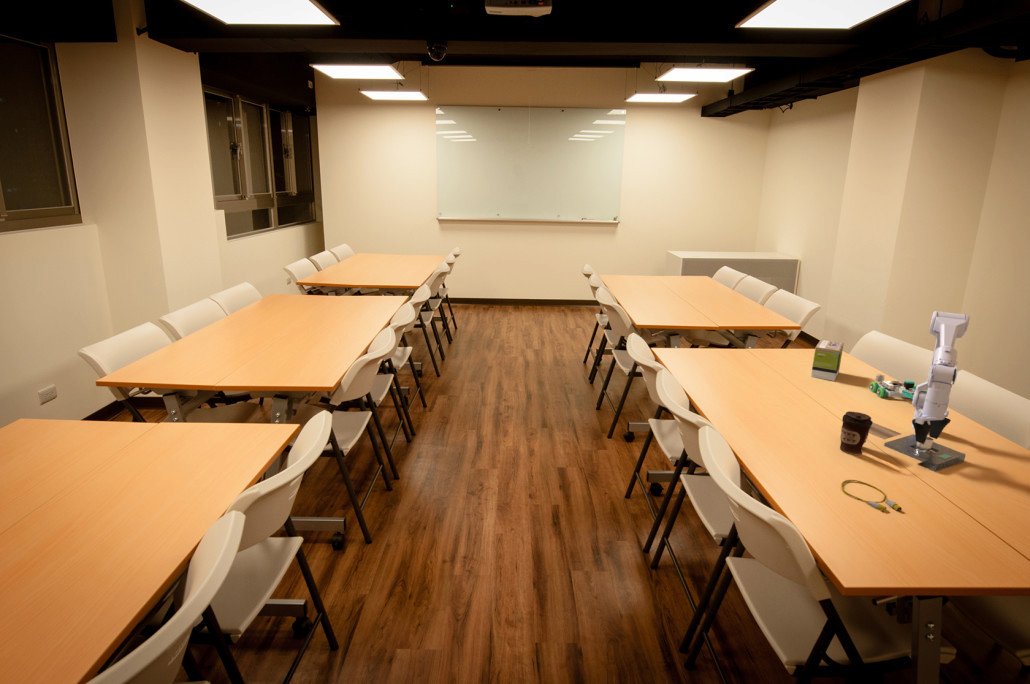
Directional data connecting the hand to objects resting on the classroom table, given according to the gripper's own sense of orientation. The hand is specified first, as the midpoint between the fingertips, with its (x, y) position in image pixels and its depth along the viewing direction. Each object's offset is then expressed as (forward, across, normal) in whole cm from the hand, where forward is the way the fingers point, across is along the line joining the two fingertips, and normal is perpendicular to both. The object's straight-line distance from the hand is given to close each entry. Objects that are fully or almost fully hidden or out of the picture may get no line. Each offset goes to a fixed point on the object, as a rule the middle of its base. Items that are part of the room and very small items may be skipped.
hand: (926, 439), depth 180 cm
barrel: (+6, 0, 0) cm, 6 cm away
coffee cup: (+6, +19, -12) cm, 23 cm away
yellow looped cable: (+6, +41, +8) cm, 42 cm away
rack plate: (+6, 0, 0) cm, 6 cm away
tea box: (+6, -43, -66) cm, 79 cm away
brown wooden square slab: (+6, -2, -16) cm, 17 cm away
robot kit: (+6, -45, -33) cm, 56 cm away
